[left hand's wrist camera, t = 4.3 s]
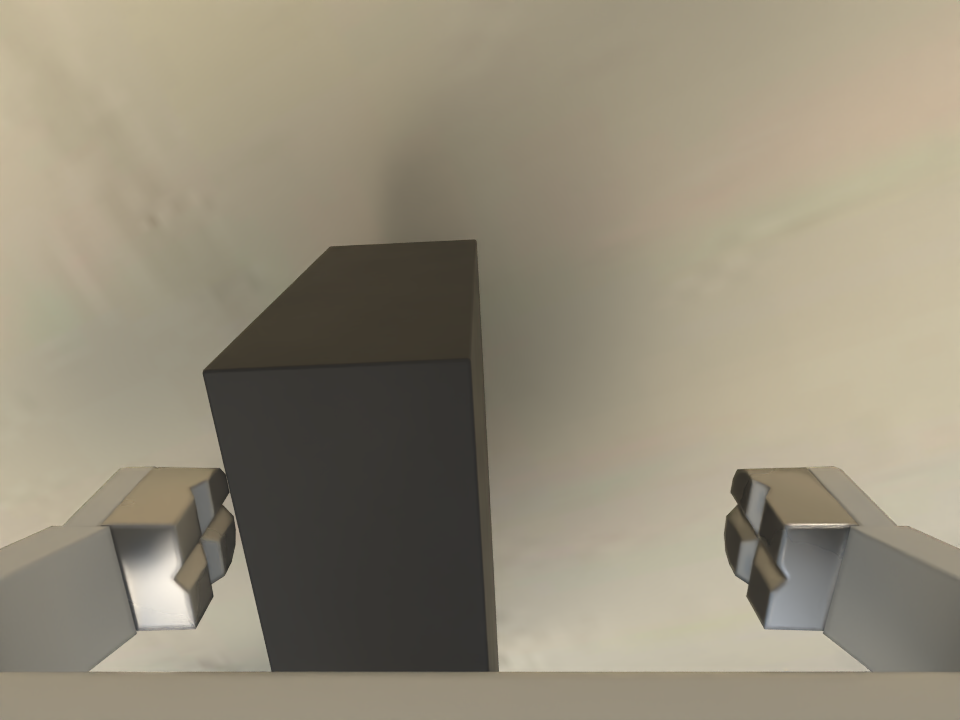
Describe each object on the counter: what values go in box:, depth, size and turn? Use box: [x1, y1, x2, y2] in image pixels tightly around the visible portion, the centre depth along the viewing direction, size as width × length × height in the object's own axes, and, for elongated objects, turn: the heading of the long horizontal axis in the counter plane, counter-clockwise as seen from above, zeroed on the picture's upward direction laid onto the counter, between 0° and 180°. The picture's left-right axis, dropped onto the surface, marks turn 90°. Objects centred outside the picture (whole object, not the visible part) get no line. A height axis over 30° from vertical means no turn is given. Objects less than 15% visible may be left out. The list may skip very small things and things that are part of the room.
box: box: [203, 240, 499, 672], centre depth 24 cm, size 26×6×12 cm, turn 3°
